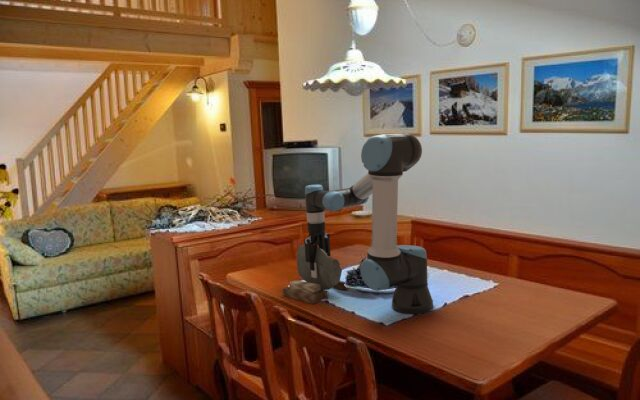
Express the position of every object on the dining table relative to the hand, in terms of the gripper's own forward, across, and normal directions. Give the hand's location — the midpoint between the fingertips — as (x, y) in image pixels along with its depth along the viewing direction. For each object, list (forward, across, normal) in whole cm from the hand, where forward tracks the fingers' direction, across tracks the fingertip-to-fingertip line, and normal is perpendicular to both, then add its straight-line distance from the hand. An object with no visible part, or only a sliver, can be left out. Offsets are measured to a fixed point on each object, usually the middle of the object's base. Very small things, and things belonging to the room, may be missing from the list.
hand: (319, 275), depth 205 cm
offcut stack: (+7, +9, 0) cm, 11 cm away
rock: (+7, 0, 0) cm, 7 cm away
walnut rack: (+7, +2, 0) cm, 7 cm away
